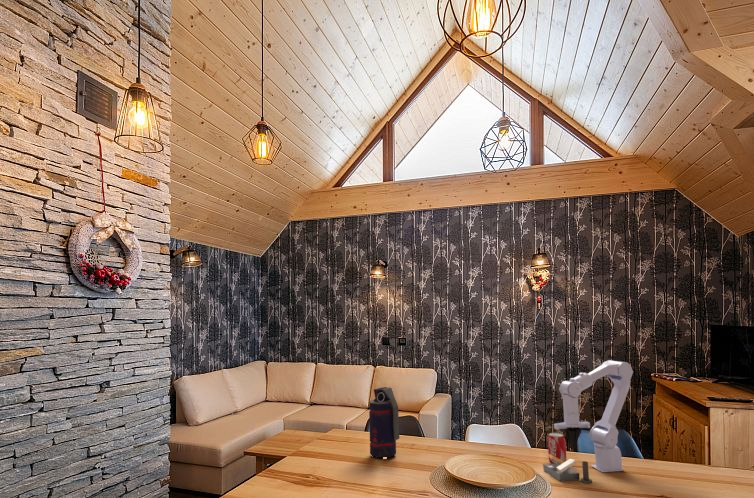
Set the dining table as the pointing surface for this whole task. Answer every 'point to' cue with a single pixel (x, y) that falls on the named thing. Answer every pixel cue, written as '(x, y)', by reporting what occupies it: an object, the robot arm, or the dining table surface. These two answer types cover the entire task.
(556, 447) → the soda can
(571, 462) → the paddle beige
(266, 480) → the dining table surface
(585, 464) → the post
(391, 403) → the grenade
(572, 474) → the grey tray
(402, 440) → the dining table surface
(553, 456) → the paddle amber
